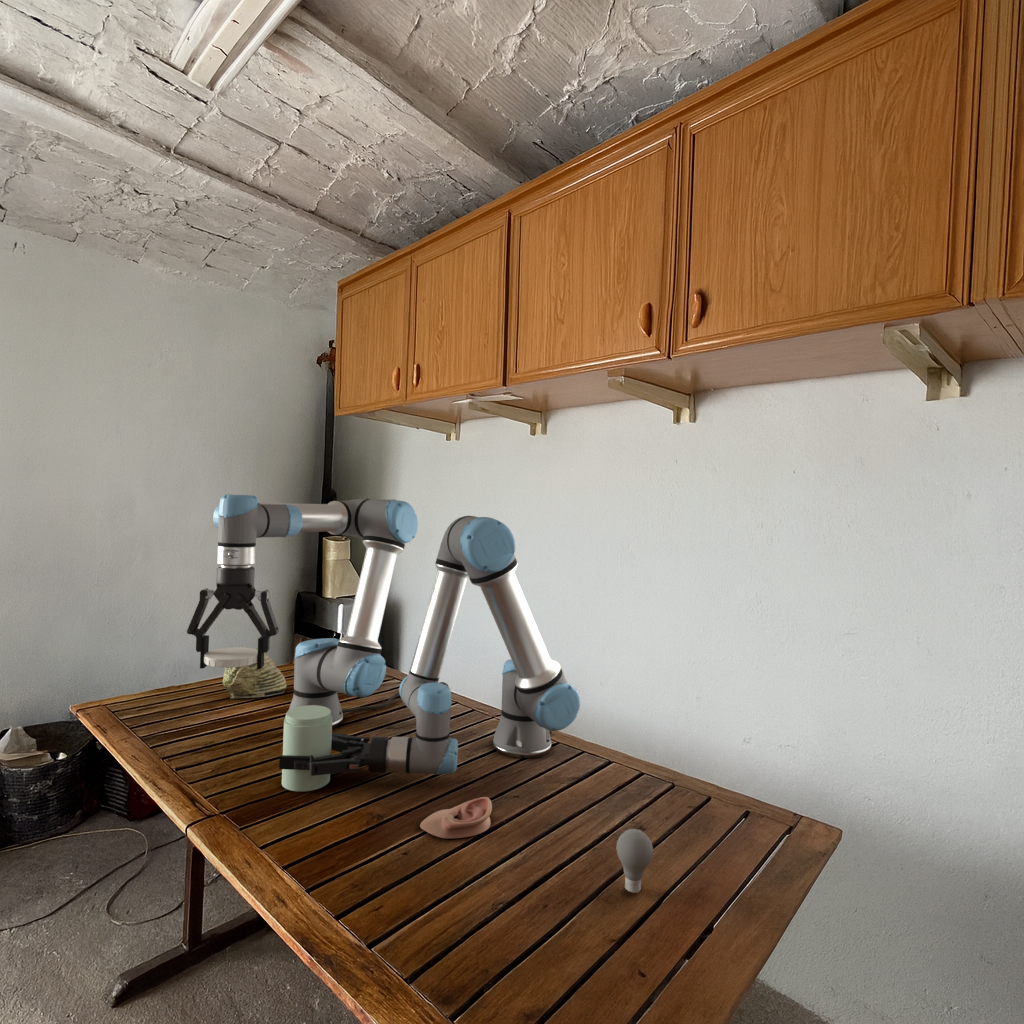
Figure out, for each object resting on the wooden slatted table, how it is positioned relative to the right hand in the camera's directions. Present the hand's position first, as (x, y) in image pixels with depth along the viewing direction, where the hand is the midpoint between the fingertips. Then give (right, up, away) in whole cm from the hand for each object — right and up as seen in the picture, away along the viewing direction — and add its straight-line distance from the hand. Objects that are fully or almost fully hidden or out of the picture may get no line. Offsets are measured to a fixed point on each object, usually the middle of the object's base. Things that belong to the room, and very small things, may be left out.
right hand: (288, 751), depth 141 cm
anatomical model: (+39, -8, -16) cm, 43 cm away
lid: (-11, +22, -4) cm, 25 cm away
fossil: (-31, -4, +57) cm, 65 cm away
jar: (+4, -7, 0) cm, 8 cm away
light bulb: (+70, -10, -35) cm, 79 cm away
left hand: (-11, +20, -4) cm, 23 cm away
